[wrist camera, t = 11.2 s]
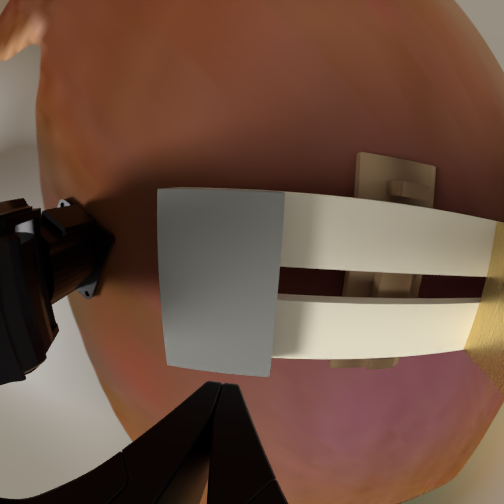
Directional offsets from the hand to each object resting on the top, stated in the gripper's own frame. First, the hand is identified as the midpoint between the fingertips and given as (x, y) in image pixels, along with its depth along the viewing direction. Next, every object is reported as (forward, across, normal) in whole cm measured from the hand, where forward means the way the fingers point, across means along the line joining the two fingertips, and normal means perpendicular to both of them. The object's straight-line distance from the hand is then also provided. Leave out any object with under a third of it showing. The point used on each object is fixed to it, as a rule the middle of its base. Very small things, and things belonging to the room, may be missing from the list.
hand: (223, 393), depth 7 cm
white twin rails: (+10, -11, 0) cm, 15 cm away
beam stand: (+13, -10, 0) cm, 16 cm away
